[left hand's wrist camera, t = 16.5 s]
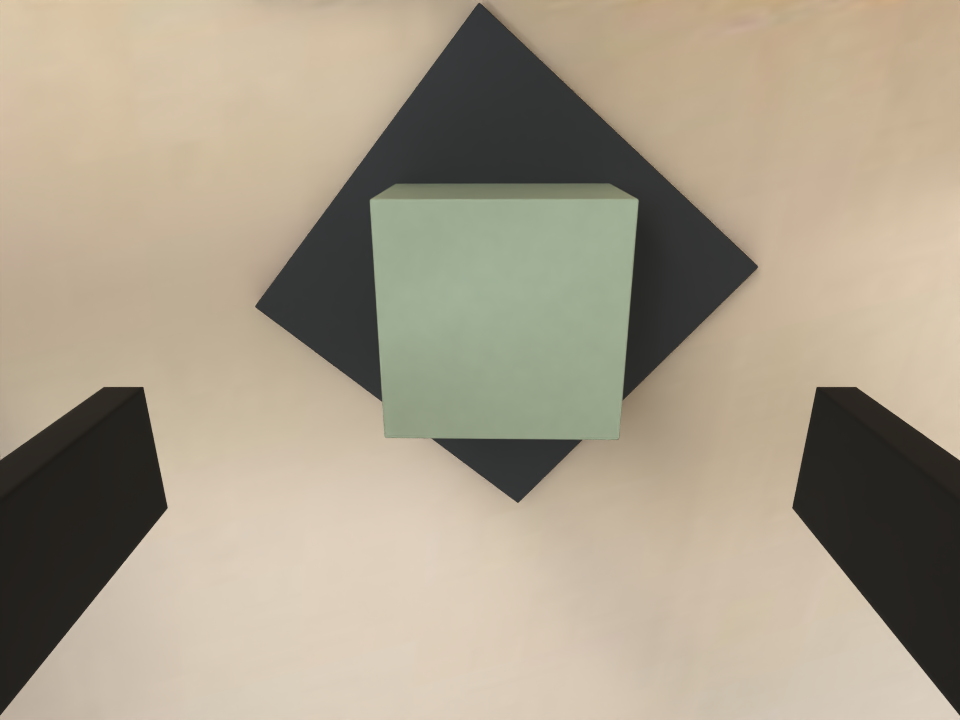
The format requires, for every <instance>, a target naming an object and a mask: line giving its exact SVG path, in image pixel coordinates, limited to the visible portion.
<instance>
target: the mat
mask: <svg viewBox="0 0 960 720" xmlns="http://www.w3.org/2000/svg"><path fill="white" fill-rule="evenodd" d="M569 183H609V184H611V185H613V186H615V187H617V188H619V189H620V190H622V191H624V192H626V193H628V194H629V195H631V196H633V197H635V198H637V199H638V201H639V202H638V214H637V227H636V239H635V251H634V263H633V275H632V287H631V299H630V312H629V324H628V336H627V348H626V360H625V372H624V385H623V397H622V400H623V399H624V398H625V397H626V396H627V395H628V394H629V393H631V392H632V391H633V390H634V389H635V388H636V387H637V386H638V385H639V384H640V383H641V382H642V381H643V380H644V379H645V378H646V377H647V376H648V375H649V374H650V373H651V372H652V371H653V370H654V369H655V368H656V367H657V366H658V365H659V364H660V363H661V362H662V361H663V360H664V359H665V358H666V357H667V356H668V355H669V354H670V353H671V352H672V351H673V350H674V349H675V348H676V347H677V346H678V345H679V344H680V343H681V342H682V341H683V340H685V339H686V338H687V337H688V336H689V335H690V334H691V333H692V332H693V331H694V330H695V329H696V328H697V327H698V326H699V325H700V324H701V323H702V322H703V321H704V320H705V319H706V318H707V317H708V316H709V315H710V314H711V313H712V312H713V311H714V310H715V309H716V308H717V307H718V306H719V305H720V304H721V303H722V302H723V301H724V300H725V299H726V298H727V297H728V296H729V295H730V294H731V293H732V292H733V291H734V290H735V289H736V288H737V287H739V286H740V285H741V284H742V283H743V282H744V281H745V280H746V279H747V278H748V277H749V276H750V275H751V274H752V273H753V272H754V271H755V270H756V269H757V268H758V266H757V265H756V264H755V263H754V262H753V261H752V260H751V259H750V258H749V257H748V256H747V255H746V254H744V253H743V252H742V251H741V250H740V249H739V248H738V247H737V246H736V245H735V244H734V243H733V242H732V241H731V240H730V239H729V238H728V237H727V236H725V235H724V234H723V233H722V232H721V231H720V230H719V229H718V228H717V227H716V226H715V225H714V224H713V223H712V222H711V221H710V220H709V219H708V218H706V217H705V216H704V215H703V214H702V213H701V212H700V211H699V210H698V209H697V208H696V207H695V206H694V205H693V204H692V203H691V202H690V201H688V200H687V199H686V198H685V197H684V196H683V195H682V194H681V193H680V192H679V191H678V190H677V189H676V188H675V187H674V186H673V185H672V184H671V183H669V182H668V181H667V180H666V179H665V178H664V177H663V176H662V175H661V174H660V173H659V172H658V171H657V170H656V169H655V168H654V167H653V166H652V165H650V164H649V163H648V162H647V161H646V160H645V159H644V158H643V157H642V156H641V155H640V154H639V153H638V152H637V151H636V150H635V149H634V148H633V147H631V146H630V145H629V144H628V143H627V142H626V141H625V140H624V139H623V138H622V137H621V136H620V135H619V134H618V133H617V132H616V131H615V130H614V129H612V128H611V127H610V126H609V125H608V124H607V123H606V122H605V121H604V120H603V119H602V118H601V117H600V116H599V115H598V114H597V113H596V112H595V111H593V110H592V109H591V108H590V107H589V106H588V105H587V104H586V103H585V102H584V101H583V100H582V99H581V98H580V97H579V96H578V95H577V94H576V93H574V92H573V91H572V90H571V89H570V88H569V87H568V86H567V85H566V84H565V83H564V82H563V81H562V80H561V79H560V78H559V77H558V76H556V75H555V74H554V73H553V72H552V71H551V70H550V69H549V68H548V67H547V66H546V65H545V64H544V63H543V62H542V61H541V60H540V59H539V58H537V57H536V56H535V55H534V54H533V53H532V52H531V51H530V50H529V49H528V48H527V47H526V46H525V45H524V44H523V43H522V42H521V41H520V40H518V39H517V38H516V37H515V36H514V35H513V34H512V33H511V32H510V31H509V30H508V29H507V28H506V27H505V26H504V25H503V24H502V23H501V22H499V21H498V20H497V19H496V18H495V17H494V16H493V15H492V14H491V13H490V12H489V11H488V10H487V9H486V8H485V7H484V6H483V5H482V4H480V3H478V5H477V6H476V7H475V9H474V10H473V11H472V13H471V14H470V15H469V17H468V18H467V19H466V21H465V22H464V24H463V25H462V26H461V28H460V29H459V30H458V32H457V33H456V34H455V36H454V37H453V38H452V40H451V41H450V43H449V44H448V45H447V47H446V48H445V49H444V51H443V52H442V53H441V55H440V56H439V57H438V59H437V60H436V62H435V63H434V64H433V66H432V67H431V68H430V70H429V71H428V72H427V74H426V75H425V76H424V78H423V79H422V81H421V82H420V83H419V85H418V86H417V87H416V89H415V90H414V91H413V93H412V94H411V95H410V97H409V98H408V100H407V101H406V102H405V104H404V105H403V106H402V108H401V109H400V110H399V112H398V113H397V114H396V116H395V117H394V119H393V120H392V121H391V123H390V124H389V125H388V127H387V128H386V129H385V131H384V132H383V133H382V135H381V136H380V138H379V139H378V140H377V142H376V143H375V144H374V146H373V147H372V148H371V150H370V151H369V152H368V154H367V155H366V157H365V158H364V159H363V161H362V162H361V163H360V165H359V166H358V167H357V169H356V170H355V171H354V173H353V174H352V176H351V177H350V178H349V180H348V181H347V182H346V184H345V185H344V186H343V188H342V189H341V190H340V192H339V193H338V195H337V196H336V197H335V199H334V200H333V201H332V203H331V204H330V205H329V207H328V208H327V209H326V211H325V212H324V214H323V215H322V216H321V218H320V219H319V220H318V222H317V223H316V224H315V226H314V227H313V228H312V230H311V231H310V233H309V234H308V235H307V237H306V238H305V239H304V241H303V242H302V243H301V245H300V246H299V247H298V249H297V250H296V252H295V253H294V254H293V256H292V257H291V258H290V260H289V261H288V262H287V264H286V265H285V266H284V268H283V269H282V271H281V272H280V273H279V275H278V276H277V277H276V279H275V280H274V281H273V283H272V284H271V285H270V287H269V288H268V289H267V291H266V292H265V294H264V295H263V296H262V298H261V299H260V300H259V302H258V303H257V304H256V306H255V307H256V308H257V309H259V310H260V311H261V312H263V313H264V314H265V315H267V316H268V317H269V318H271V319H272V320H273V321H275V322H276V323H277V324H279V325H280V326H281V327H283V328H284V329H285V330H287V331H288V332H289V333H291V334H292V335H293V336H295V337H296V338H298V339H299V340H300V341H302V342H303V343H304V344H306V345H307V346H308V347H310V348H311V349H312V350H314V351H315V352H316V353H318V354H319V355H320V356H322V357H323V358H324V359H326V360H327V361H328V362H330V363H331V364H332V365H334V366H335V367H336V368H338V369H339V370H340V371H342V372H343V373H344V374H346V375H347V376H348V377H350V378H351V379H352V380H354V381H355V382H357V383H358V384H359V385H361V386H362V387H363V388H365V389H366V390H367V391H369V392H370V393H371V394H373V395H374V396H375V397H377V398H378V399H379V400H381V401H382V387H381V371H380V355H379V339H378V324H377V308H376V292H375V276H374V260H373V244H372V228H371V212H370V199H372V198H374V197H375V196H377V195H378V194H380V193H382V192H383V191H385V190H387V189H388V188H390V187H391V186H393V185H395V184H569ZM432 439H433V440H434V441H436V442H437V443H438V444H440V445H441V446H442V447H444V448H445V449H446V450H448V451H449V452H450V453H452V454H453V455H454V456H456V457H457V458H458V459H460V460H461V461H462V462H464V463H465V464H466V465H468V466H469V467H470V468H472V469H473V470H474V471H476V472H477V473H479V474H480V475H481V476H483V477H484V478H485V479H487V480H488V481H489V482H491V483H492V484H493V485H495V486H496V487H497V488H499V489H500V490H501V491H503V492H504V493H505V494H507V495H508V496H509V497H511V498H512V499H513V500H515V501H516V502H517V503H518V502H519V501H520V500H522V499H523V498H524V497H525V496H526V495H527V494H528V493H529V492H530V491H531V490H532V489H533V488H534V487H535V486H536V485H537V484H538V483H539V482H540V481H541V480H542V479H543V478H544V477H545V476H546V475H547V474H548V473H549V472H550V471H551V470H552V469H553V468H554V467H555V466H556V465H557V464H558V463H559V462H560V461H561V460H562V459H563V458H564V457H565V456H566V455H567V454H568V453H569V452H570V451H571V450H572V449H573V448H574V447H576V446H577V445H578V444H579V443H580V442H581V441H582V440H577V439H464V438H432Z"/></svg>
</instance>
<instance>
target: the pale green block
mask: <svg viewBox="0 0 960 720" xmlns="http://www.w3.org/2000/svg"><path fill="white" fill-rule="evenodd" d="M638 202H639V201H638V199H637V198H635V197H633V196H631V195H629V194H628V193H626V192H624V191H622V190H620V189H619V188H617V187H615V186H613V185H611V184H609V183H569V184H395V185H393V186H391V187H390V188H388V189H387V190H385V191H383V192H382V193H380V194H378V195H377V196H375V197H374V198H372V199H370V212H371V228H372V244H373V260H374V276H375V292H376V308H377V324H378V339H379V355H380V371H381V387H382V403H383V419H384V435H385V437H386V438H464V439H577V440H618V439H619V433H620V421H621V409H622V397H623V385H624V372H625V360H626V348H627V336H628V324H629V312H630V299H631V287H632V275H633V263H634V251H635V239H636V227H637V214H638Z"/></svg>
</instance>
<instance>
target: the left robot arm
mask: <svg viewBox="0 0 960 720" xmlns="http://www.w3.org/2000/svg"><path fill="white" fill-rule="evenodd" d="M167 508H168V507H167V502H166V497H165V492H164V487H163V482H162V477H161V472H160V468H159V463H158V458H157V453H156V448H155V443H154V438H153V433H152V428H151V423H150V418H149V413H148V408H147V403H146V398H145V393H144V388H143V387H103V388H102V389H101V390H99V391H98V392H96V393H95V394H94V395H92V396H91V397H89V398H88V399H87V400H85V401H84V402H82V403H81V404H79V405H78V406H77V407H75V408H74V409H72V410H71V411H70V412H68V413H67V414H65V415H64V416H62V417H61V418H60V419H58V420H57V421H55V422H54V423H53V424H51V425H50V426H48V427H47V428H45V429H44V430H43V431H41V432H40V433H38V434H37V435H36V436H34V437H33V438H31V439H30V440H29V441H27V442H26V443H24V444H23V445H21V446H20V447H19V448H17V449H16V450H14V451H13V452H12V453H10V454H9V455H7V456H6V457H4V458H3V459H2V460H0V715H1V714H2V713H3V711H4V710H5V709H6V708H7V706H8V705H9V704H10V703H11V701H12V700H13V699H14V698H15V696H16V695H17V694H18V693H19V691H20V690H21V689H22V688H23V687H24V685H25V684H26V683H27V682H28V680H29V679H30V678H31V677H32V675H33V674H34V673H35V672H36V670H37V669H38V668H39V667H40V665H41V664H42V663H43V662H44V661H45V659H46V658H47V657H48V656H49V654H50V653H51V652H52V651H53V649H54V648H55V647H56V646H57V644H58V643H59V642H60V641H61V639H62V638H63V637H64V636H65V635H66V633H67V632H68V631H69V630H70V628H71V627H72V626H73V625H74V623H75V622H76V621H77V620H78V618H79V617H80V616H81V615H82V613H83V612H84V611H85V610H86V609H87V607H88V606H89V605H90V604H91V602H92V601H93V600H94V599H95V597H96V596H97V595H98V594H99V592H100V591H101V590H102V589H103V587H104V586H105V585H106V584H107V583H108V581H109V580H110V579H111V578H112V576H113V575H114V574H115V573H116V571H117V570H118V569H119V568H120V566H121V565H122V564H123V563H124V561H125V560H126V559H127V558H128V557H129V555H130V554H131V553H132V552H133V550H134V549H135V548H136V547H137V545H138V544H139V543H140V542H141V540H142V539H143V538H144V537H145V535H146V534H147V533H148V532H149V531H150V529H151V528H152V527H153V526H154V524H155V523H156V522H157V521H158V519H159V518H160V517H161V516H162V514H163V513H164V512H165V511H166V509H167ZM792 508H793V509H794V511H795V512H796V513H797V514H798V516H799V517H800V518H801V519H802V521H803V522H804V523H805V524H806V526H807V527H808V528H809V529H810V531H811V532H812V533H813V534H814V535H815V537H816V538H817V539H818V540H819V542H820V543H821V544H822V545H823V547H824V548H825V549H826V550H827V552H828V553H829V554H830V555H831V557H832V558H833V559H834V560H835V561H836V563H837V564H838V565H839V566H840V568H841V569H842V570H843V571H844V573H845V574H846V575H847V576H848V578H849V579H850V580H851V581H852V583H853V584H854V585H855V586H856V587H857V589H858V590H859V591H860V592H861V594H862V595H863V596H864V597H865V599H866V600H867V601H868V602H869V604H870V605H871V606H872V607H873V609H874V610H875V611H876V612H877V613H878V615H879V616H880V617H881V618H882V620H883V621H884V622H885V623H886V625H887V626H888V627H889V628H890V630H891V631H892V632H893V633H894V635H895V636H896V637H897V638H898V639H899V641H900V642H901V643H902V644H903V646H904V647H905V648H906V649H907V651H908V652H909V653H910V654H911V656H912V657H913V658H914V659H915V661H916V662H917V663H918V664H919V665H920V667H921V668H922V669H923V670H924V672H925V673H926V674H927V675H928V677H929V678H930V679H931V680H932V682H933V683H934V684H935V685H936V687H937V688H938V689H939V690H940V691H941V693H942V694H943V695H944V696H945V698H946V699H947V700H948V701H949V703H950V704H951V705H952V706H953V708H954V709H955V710H956V711H957V713H958V714H959V715H960V460H958V459H957V458H956V457H954V456H953V455H951V454H950V453H948V452H947V451H946V450H944V449H943V448H941V447H940V446H939V445H937V444H936V443H934V442H933V441H931V440H930V439H929V438H927V437H926V436H924V435H923V434H922V433H920V432H919V431H917V430H916V429H915V428H913V427H912V426H910V425H909V424H907V423H906V422H905V421H903V420H902V419H900V418H899V417H898V416H896V415H895V414H893V413H892V412H890V411H889V410H888V409H886V408H885V407H883V406H882V405H881V404H879V403H878V402H876V401H875V400H873V399H872V398H871V397H869V396H868V395H866V394H865V393H864V392H862V391H861V390H859V389H858V388H857V387H817V388H816V393H815V398H814V403H813V408H812V413H811V418H810V423H809V428H808V433H807V438H806V443H805V448H804V453H803V458H802V463H801V468H800V472H799V477H798V482H797V487H796V492H795V497H794V502H793V507H792Z"/></svg>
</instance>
